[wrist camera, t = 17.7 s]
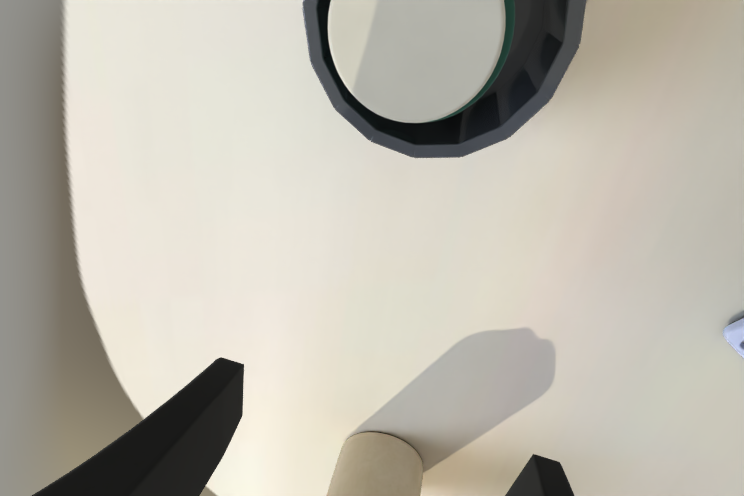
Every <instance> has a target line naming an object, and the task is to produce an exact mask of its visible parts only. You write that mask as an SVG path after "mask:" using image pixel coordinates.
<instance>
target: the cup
mask: <svg viewBox="0 0 744 496" xmlns="http://www.w3.org/2000/svg"><path fill="white" fill-rule="evenodd" d="M330 2H331V0H303V15H304V22H305V29H306V36H307V43H308V50H309V56H310V62H311V65H312V67H313V69H314V71H315V72H316V74H317V76H318V78H319V80H320V82H321V84H322V86H323V88H324V90H325V92H326V94H327V96H328V97H329V99H330V101H331V103H332V105H333V107H334V108H335V110H336V111H337V112H338V113H340V114H341V115H342V116H343V117H344V118H345V119H346V120H347V121H348V122H349V123H351V124H352V125H353V126H354V127H355V128H356V129H357V130H358V131H359V132H360V133H362V134H363V135H364V136H365V137H366V138H367V139H368V140H371V142H373V143H376V144H379V145H381V146H384V147H386V148H389V149H392V150H394V151H397V152H399V153H402V154H405V155H407V156H410V157H414V158H453V157H463V156H466V155H468V154H471V153H473V152H476V151H478V150H481V149H483V148H486V147H488V146H491V145H493V144H496V143H498V142H501V141H503V140H506V139H507V138H509V137H511V136H512V135H513V134H514V133H515V132H516V131H517V130H518V129H519V128H521V127H522V126H523V125H524V124H525V123H526V122H527V121H528V120H529V119H530V118H532V117H533V116H534V115H535V114H536V113H537V112H538V111H539V110H540V109H542V108H543V107H544V106H545V105H546V104H547V103H548V102H549V101H550V99H551V98H552V97H553V95H554V93H555V91H556V89H557V87H558V85H559V84H560V82H561V80H562V78H563V76H564V74H565V72H566V70H567V69H568V67H569V65H570V63H571V61H572V59H573V57H574V56H575V54H576V52H577V50H578V48H579V44H580V42H581V35H582V28H583V21H584V14H585V7H586V0H514V3H515V26H514V34H513V39H512V43H511V47H510V51H509V53H508V56H507V58H506V61H505V63H504V65H503V67H502V69H501V71H500V73H499V75H498V76H497V78H496V79H495V81H494V82H493V83H492V85H491V86H490V87H489V88H488V90H487V91H486V92H485V93H484V94H483V95H482V96H481V97H480V98H479V99H478V100H477V101H475V102H474V103H473V104H472V105H470V106H469V107H467V108H466V109H465V110H463V111H461V112H459V113H457V114H455V115H453V116H451V117H448V118H445V119H443V120H438V121H434V122H426V123H405V122H399V121H394V120H391V119H388V118H385V117H383V116H380V115H378V114H376V113H374V112H373V111H371V110H370V109H368V108H366V107H365V106H364V105H363V104H362V103H360V102H359V101H358V100H357V99H356V98H355V97H354V96H353V95H352V94H351V92H350V91H349V90H348V88H347V87H346V86H345V84H344V83H343V81H342V79H341V77H340V76H339V74H338V72H337V69H336V67H335V64H334V62H333V58H332V55H331V51H330V46H329V40H328V14H329V8H330Z"/></svg>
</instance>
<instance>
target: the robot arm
mask: <svg viewBox="0 0 744 496" xmlns="http://www.w3.org/2000/svg"><path fill="white" fill-rule="evenodd" d="M723 336H724V337H725V339H726V340H727V342H728V343H729V344H730V345H731V346H732V347H733V348H734V349H735V350H736V351H737V352H738V353H739V354H740V355H741V356H742V357H743V358H744V343H741V342H743V341H744V318H742V319H740V320H738V321H736V322H734V323H732V324H730V325H728V326H727V327H725V329H724V330H723ZM243 376H244V364H241V363H237V362H234V361H231V360H228V359H225V358H219V359H217V360H215V361H214V362H213V363H212V364H211V365H210V366H209V367H207V368H206V369H205V370H204V371H203V372H202V373H201V374H199V375H198V376H197V377H196V378H195V379H194V380H192V381H191V382H190V383H189V384H188V385H186V386H185V387H184V388H183V389H182V390H180V391H179V392H178V393H177V394H175V395H174V396H173V397H172V398H171V399H169V400H168V401H167V402H166V403H164V404H163V405H162V406H160V407H159V408H158V409H157V410H155V411H154V412H153V413H151V414H150V415H149V416H148V417H146V418H145V419H144V420H142V421H141V422H140V423H139V424H137V425H136V426H135V427H133V428H132V429H131V430H129V431H128V432H126V433H125V434H124V435H122V436H121V437H119V438H118V439H117V440H115V441H114V442H112V443H111V444H110V445H108V446H107V447H105V448H104V449H103V450H101V451H100V452H98V453H97V454H96V455H94V456H93V457H91V458H90V459H88V460H87V461H85V462H84V463H82V464H81V465H79V466H78V467H76V468H75V469H73V470H72V471H70V472H69V473H67V474H66V475H64V476H63V477H61V478H59V479H58V480H56V481H55V482H53V483H52V484H50V485H48V486H47V487H45V488H44V489H42V490H40V491H39V492H37V493H35V494H34V495H32V496H199V495H200V494H201V492H202V490H203V489H204V487H205V485H206V484H207V482H208V481H209V479H210V477H211V476H212V474H213V472H214V471H215V469H216V467H217V466H218V464H219V462H220V460H221V459H222V457H223V455H224V453H225V451H226V449H227V447H228V445H229V443H230V441H231V439H232V437H233V435H234V432H235V430H236V428H237V426H238V424H239V422H240V419H241V417H242V408H243ZM505 496H574V494H573V491H572V489H571V487H570V484H569V482H568V479H567V477H566V475H565V472H564V470H563V468H562V466H561V464H560V462H557V461H554V460H551V459H547V458H544V457H541V456H538V455H534V454H533V455H532V457H531V458H530V460H529V461H528V463H527V464H526V466H525V467H524V469H523V470H522V472H521V473H520V475H519V476H518V478H517V479H516V481H515V482H514V483H513V485H512V486H511V488H510V489H509V491H508V492H507V494H506V495H505Z"/></svg>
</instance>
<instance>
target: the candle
mask: <svg viewBox="0 0 744 496" xmlns="http://www.w3.org/2000/svg"><path fill="white" fill-rule="evenodd" d="M422 476H423V464H422V460H421V458H420V456H419V454H418V453H417V452H416V451H415V450H414V448H412V447H411V446H410V445H409V444H407V443H406V442H404V441H402V440H400V439H398V438H396V437H393V436H391V435H387V434H383V433H376V432H364V433H359V434H356V435H353V436H351V437H350V438H348V439H347V440H346V441H345V443H344V444H343V446H342V448H341V451H340V454H339V457H338V460H337V463H336V466H335V470H334V473H333V476H332V479H331V483H330V486H329V489H328V492H327V496H420V494H421V486H422Z"/></svg>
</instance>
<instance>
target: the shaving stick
mask: <svg viewBox="0 0 744 496" xmlns="http://www.w3.org/2000/svg"><path fill="white" fill-rule="evenodd" d="M514 26H515V3H514V0H331V2H330V8H329V14H328V40H329V46H330V51H331V55H332V58H333V62H334V64H335V67H336V69H337V72H338V74H339V76H340V77H341V79H342V81H343V83H344V84H345V86H346V87H347V88H348V90H349V91H350V92H351V94H352V95H353V96H354V97H355V98H356V99H357V100H358V101H359V102H360V103H362V104H363V105H364V106H365V107H366V108H368V109H370V110H371V111H373V112H374V113H376V114H378V115H380V116H383V117H385V118H388V119H391V120H394V121H399V122H405V123H426V122H434V121H438V120H443V119H445V118H448V117H451V116H453V115H455V114H457V113H459V112H461V111H463V110H465V109H466V108H467V107H469V106H470V105H472V104H473V103H474V102H475V101H477V100H478V99H479V98H480V97H481V96H482V95H483V94H484V93H485V92H486V91H487V90H488V88H489V87H490V86H491V85H492V83H493V82H494V81H495V79H496V78H497V76H498V75H499V73H500V71H501V69H502V67H503V65H504V63H505V61H506V58H507V56H508V53H509V51H510V47H511V43H512V39H513V34H514Z"/></svg>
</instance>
